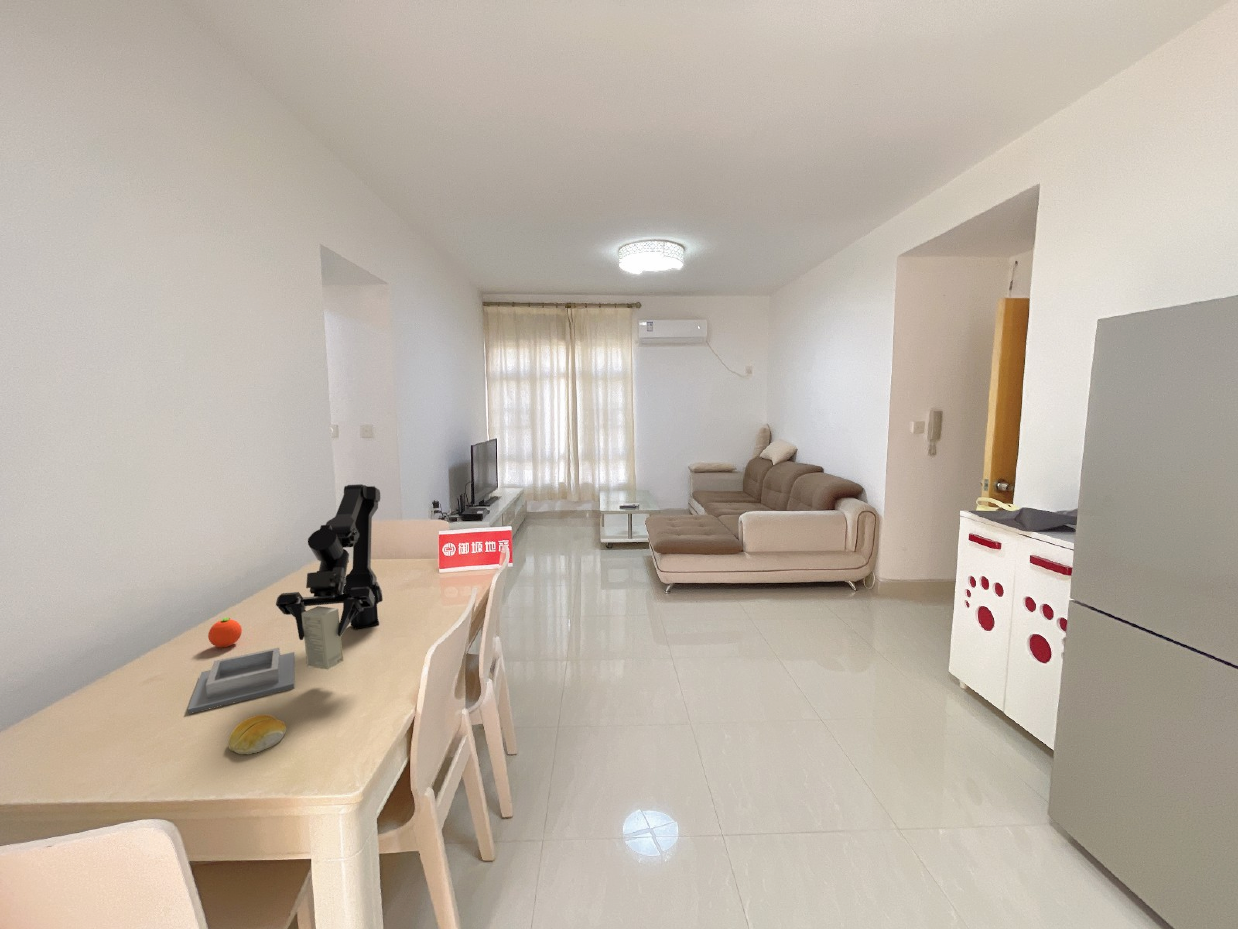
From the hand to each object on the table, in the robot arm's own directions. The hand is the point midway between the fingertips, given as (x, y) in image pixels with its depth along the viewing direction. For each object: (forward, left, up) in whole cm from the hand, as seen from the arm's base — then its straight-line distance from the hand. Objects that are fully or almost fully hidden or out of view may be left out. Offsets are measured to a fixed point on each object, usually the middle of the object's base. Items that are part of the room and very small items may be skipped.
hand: (320, 637), depth 112 cm
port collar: (+15, -12, -11) cm, 22 cm away
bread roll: (+11, +14, -12) cm, 22 cm away
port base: (+15, -12, -11) cm, 22 cm away
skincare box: (0, -1, -7) cm, 7 cm away
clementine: (+21, -38, -12) cm, 45 cm away
